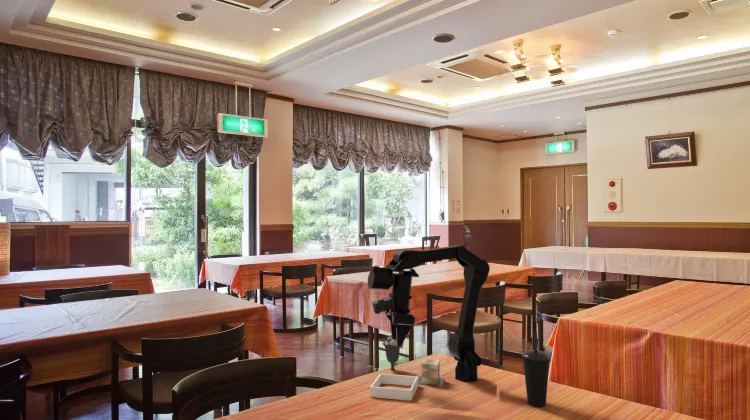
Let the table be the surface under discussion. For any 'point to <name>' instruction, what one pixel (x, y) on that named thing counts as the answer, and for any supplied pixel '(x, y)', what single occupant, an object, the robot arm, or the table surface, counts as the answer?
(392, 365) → the sundae
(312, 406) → the table surface
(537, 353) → the drinking cup
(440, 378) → the stud plate
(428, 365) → the socket block
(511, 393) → the table surface
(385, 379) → the bin
